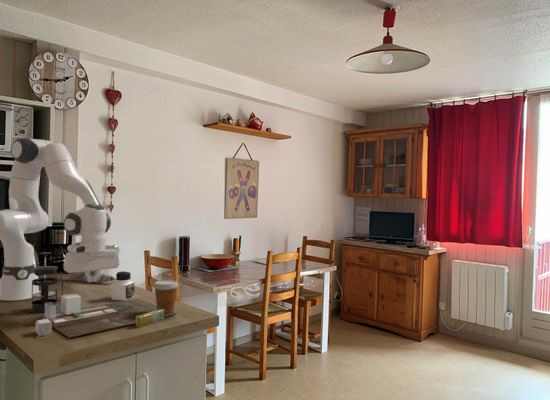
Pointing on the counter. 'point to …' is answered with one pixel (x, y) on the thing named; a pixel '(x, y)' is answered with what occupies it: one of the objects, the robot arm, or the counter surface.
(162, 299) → the disposable coffee cup
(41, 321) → the usb wall charger
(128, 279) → the medicine bottle
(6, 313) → the counter surface
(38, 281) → the french press
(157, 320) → the medication box
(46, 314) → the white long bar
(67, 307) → the block
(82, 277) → the decorative bottle
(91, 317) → the gauge board
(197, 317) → the counter surface
